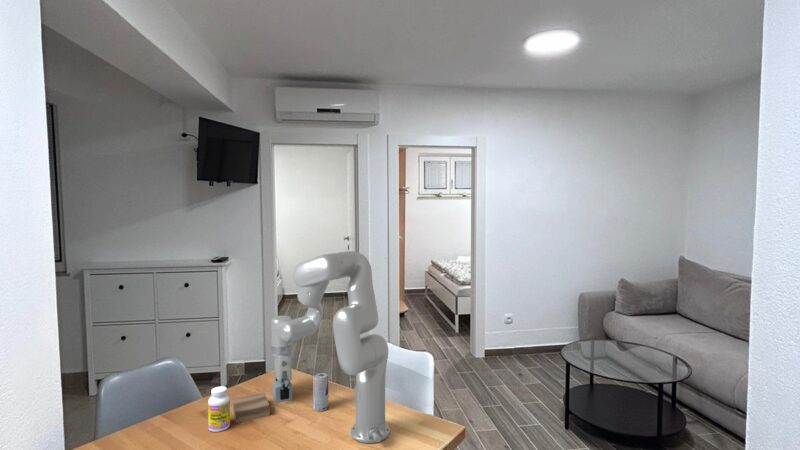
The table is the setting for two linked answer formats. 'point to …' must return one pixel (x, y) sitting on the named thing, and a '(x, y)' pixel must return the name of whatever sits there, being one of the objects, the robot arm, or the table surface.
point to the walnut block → (251, 407)
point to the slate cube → (277, 392)
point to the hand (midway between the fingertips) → (282, 393)
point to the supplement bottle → (219, 409)
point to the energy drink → (320, 392)
